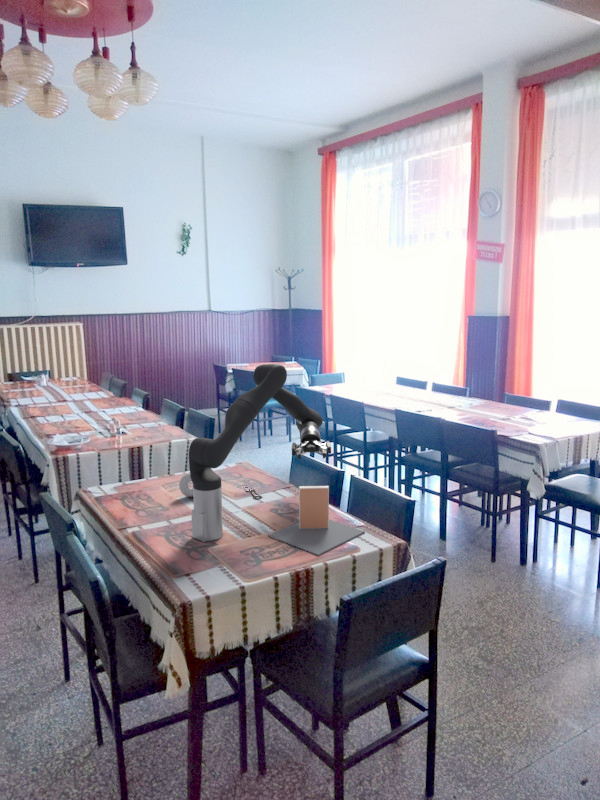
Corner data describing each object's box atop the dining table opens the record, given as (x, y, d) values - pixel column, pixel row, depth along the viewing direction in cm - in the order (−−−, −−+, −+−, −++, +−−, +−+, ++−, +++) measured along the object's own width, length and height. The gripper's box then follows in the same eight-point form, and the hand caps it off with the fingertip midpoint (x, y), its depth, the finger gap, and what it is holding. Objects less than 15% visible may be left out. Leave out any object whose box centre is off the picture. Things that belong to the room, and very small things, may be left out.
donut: (202, 493, 243) (201, 469, 242) (205, 495, 241) (204, 471, 239) (178, 497, 239) (177, 472, 237) (181, 499, 236) (180, 475, 234)
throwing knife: (254, 500, 236) (254, 499, 235) (238, 485, 254) (238, 484, 253) (264, 499, 237) (264, 497, 237) (248, 483, 255) (248, 482, 255)
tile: (299, 526, 208) (299, 486, 206) (328, 525, 209) (328, 485, 206) (299, 529, 206) (299, 488, 203) (328, 528, 206) (329, 487, 204)
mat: (318, 555, 187) (318, 554, 187) (268, 536, 201) (268, 534, 201) (364, 532, 204) (364, 531, 204) (315, 516, 219) (315, 514, 219)
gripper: (291, 430, 228) (291, 447, 213) (329, 428, 228) (331, 445, 213) (292, 448, 231) (292, 467, 215) (329, 446, 230) (332, 465, 215)
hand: (311, 456), depth 214 cm, fingers open, 8 cm apart
